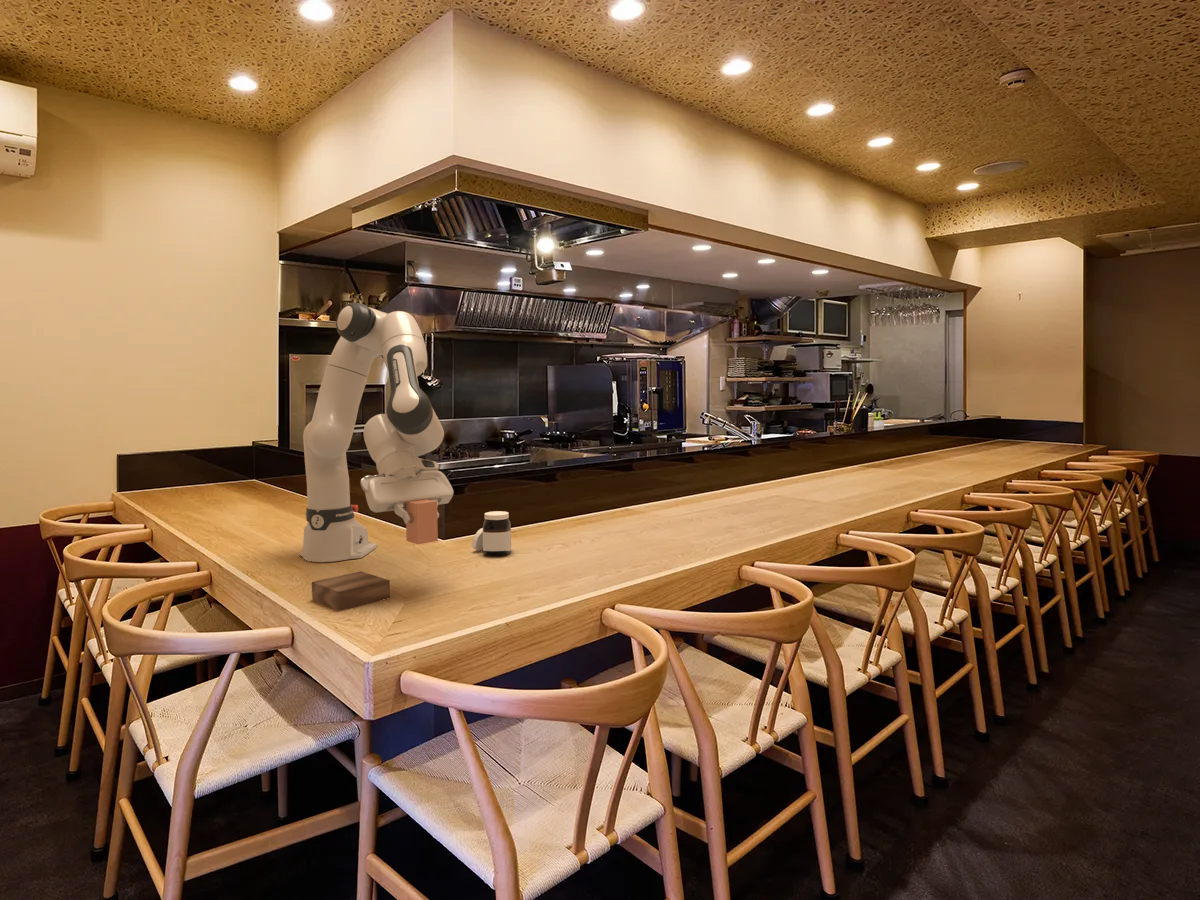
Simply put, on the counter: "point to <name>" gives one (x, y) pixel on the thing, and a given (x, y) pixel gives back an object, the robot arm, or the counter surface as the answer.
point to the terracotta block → (422, 521)
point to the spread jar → (494, 534)
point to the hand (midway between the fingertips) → (423, 519)
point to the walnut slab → (350, 590)
